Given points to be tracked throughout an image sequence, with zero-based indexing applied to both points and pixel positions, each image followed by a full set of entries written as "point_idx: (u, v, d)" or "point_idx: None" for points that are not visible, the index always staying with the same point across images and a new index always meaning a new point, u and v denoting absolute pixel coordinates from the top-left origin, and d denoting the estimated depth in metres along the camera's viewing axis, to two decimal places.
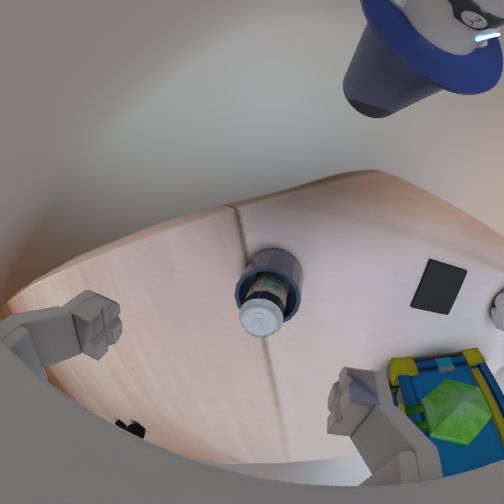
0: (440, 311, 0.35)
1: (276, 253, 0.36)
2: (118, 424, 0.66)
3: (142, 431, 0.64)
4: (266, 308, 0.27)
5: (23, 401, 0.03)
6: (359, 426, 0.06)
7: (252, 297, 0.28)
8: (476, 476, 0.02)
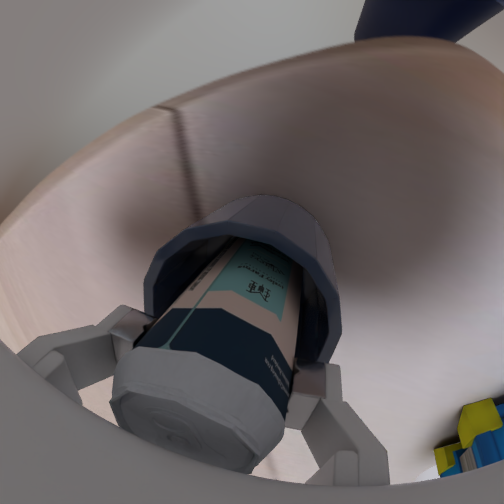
0: None
1: (266, 200, 0.13)
2: None
3: None
4: (197, 405, 0.04)
5: (23, 401, 0.03)
6: (307, 420, 0.07)
7: (150, 337, 0.06)
8: (476, 476, 0.02)
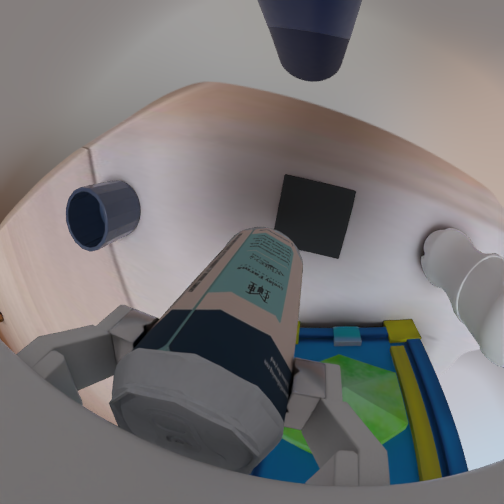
0: (322, 252, 0.30)
1: (109, 182, 0.32)
2: None
3: None
4: (197, 406, 0.04)
5: (23, 401, 0.03)
6: (308, 420, 0.07)
7: (150, 338, 0.06)
8: (476, 476, 0.02)
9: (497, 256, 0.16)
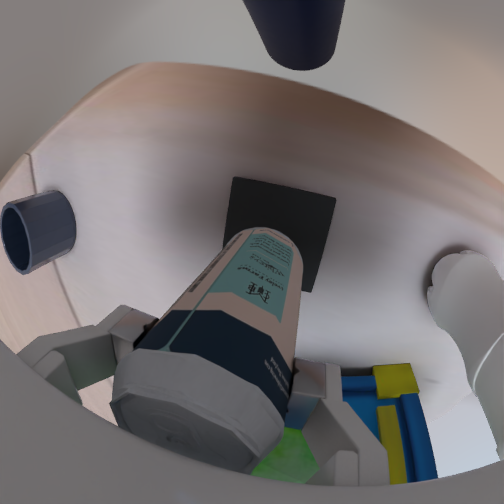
0: None
1: (42, 193, 0.23)
2: None
3: None
4: (197, 407, 0.04)
5: (23, 401, 0.03)
6: (308, 421, 0.07)
7: (150, 338, 0.06)
8: (476, 476, 0.02)
9: None
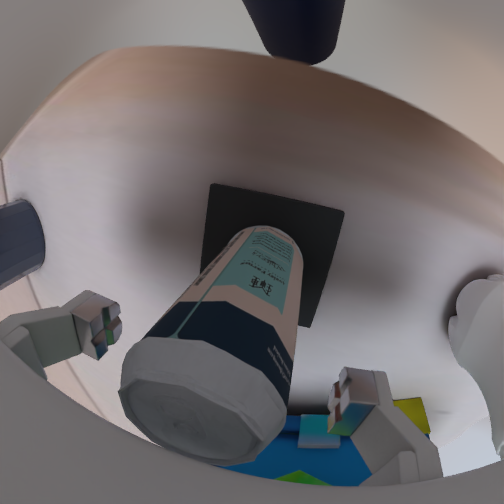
0: None
1: (9, 203, 0.19)
2: None
3: None
4: (205, 390, 0.05)
5: (23, 401, 0.03)
6: (359, 426, 0.06)
7: (158, 328, 0.06)
8: (476, 476, 0.02)
9: None
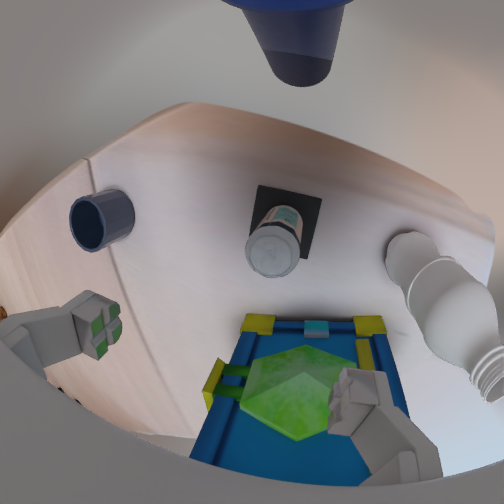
0: None
1: (107, 191, 0.36)
2: None
3: None
4: (279, 235, 0.22)
5: (23, 401, 0.03)
6: (358, 426, 0.06)
7: (261, 226, 0.24)
8: (476, 476, 0.02)
9: (449, 259, 0.20)
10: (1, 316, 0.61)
